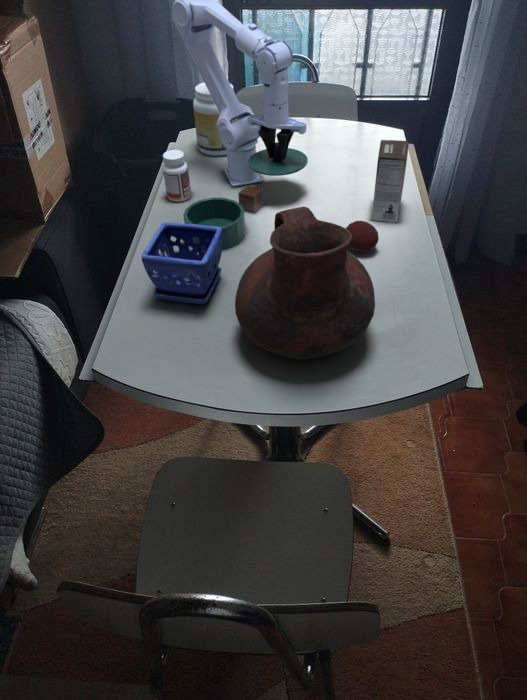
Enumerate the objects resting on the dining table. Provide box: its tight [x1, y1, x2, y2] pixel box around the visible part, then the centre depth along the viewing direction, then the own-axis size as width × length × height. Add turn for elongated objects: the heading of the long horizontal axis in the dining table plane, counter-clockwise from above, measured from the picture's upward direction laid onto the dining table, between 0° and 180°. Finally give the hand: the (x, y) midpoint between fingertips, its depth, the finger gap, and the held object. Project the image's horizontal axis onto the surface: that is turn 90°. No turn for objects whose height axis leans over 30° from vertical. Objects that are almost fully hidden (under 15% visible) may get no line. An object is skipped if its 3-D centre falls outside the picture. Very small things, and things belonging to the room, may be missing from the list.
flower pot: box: [141, 222, 223, 305], centre depth 120 cm, size 13×13×12 cm
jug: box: [234, 206, 376, 360], centre depth 104 cm, size 25×25×25 cm
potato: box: [346, 220, 380, 252], centre depth 131 cm, size 7×8×6 cm
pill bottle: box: [162, 149, 192, 203], centre depth 148 cm, size 6×6×11 cm
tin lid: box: [248, 141, 309, 177], centre depth 145 cm, size 15×15×5 cm
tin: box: [183, 197, 247, 251], centre depth 137 cm, size 14×14×6 cm
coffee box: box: [371, 139, 410, 223], centre depth 138 cm, size 9×6×16 cm
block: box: [237, 184, 264, 214], centre depth 146 cm, size 4×4×4 cm
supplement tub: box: [192, 82, 238, 157], centre depth 166 cm, size 12×12×17 cm
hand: (277, 157), depth 146 cm, fingers closed on tin lid, 2 cm apart
